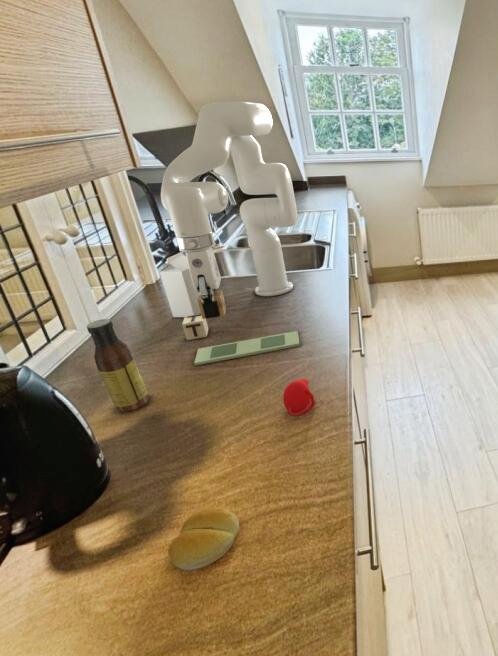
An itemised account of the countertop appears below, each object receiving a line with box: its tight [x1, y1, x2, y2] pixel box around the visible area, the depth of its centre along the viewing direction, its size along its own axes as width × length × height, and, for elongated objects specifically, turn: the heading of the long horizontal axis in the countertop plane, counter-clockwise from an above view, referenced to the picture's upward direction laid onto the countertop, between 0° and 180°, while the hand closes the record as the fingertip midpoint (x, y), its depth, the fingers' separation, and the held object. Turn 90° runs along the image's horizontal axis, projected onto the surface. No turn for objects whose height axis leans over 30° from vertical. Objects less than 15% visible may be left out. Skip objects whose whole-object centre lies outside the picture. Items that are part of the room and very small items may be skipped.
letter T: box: [181, 314, 210, 341], centre depth 127 cm, size 5×5×5 cm
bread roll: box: [167, 506, 240, 571], centre depth 64 cm, size 8×9×4 cm
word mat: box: [193, 330, 300, 366], centre depth 119 cm, size 8×25×1 cm, turn 110°
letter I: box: [198, 289, 227, 320], centre depth 112 cm, size 5×5×5 cm
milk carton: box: [159, 251, 201, 318], centre depth 138 cm, size 7×7×19 cm
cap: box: [282, 378, 317, 417], centre depth 93 cm, size 8×6×6 cm
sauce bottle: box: [86, 318, 150, 412], centre depth 93 cm, size 7×6×20 cm
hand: (214, 312), depth 113 cm, fingers closed on letter I, 5 cm apart
